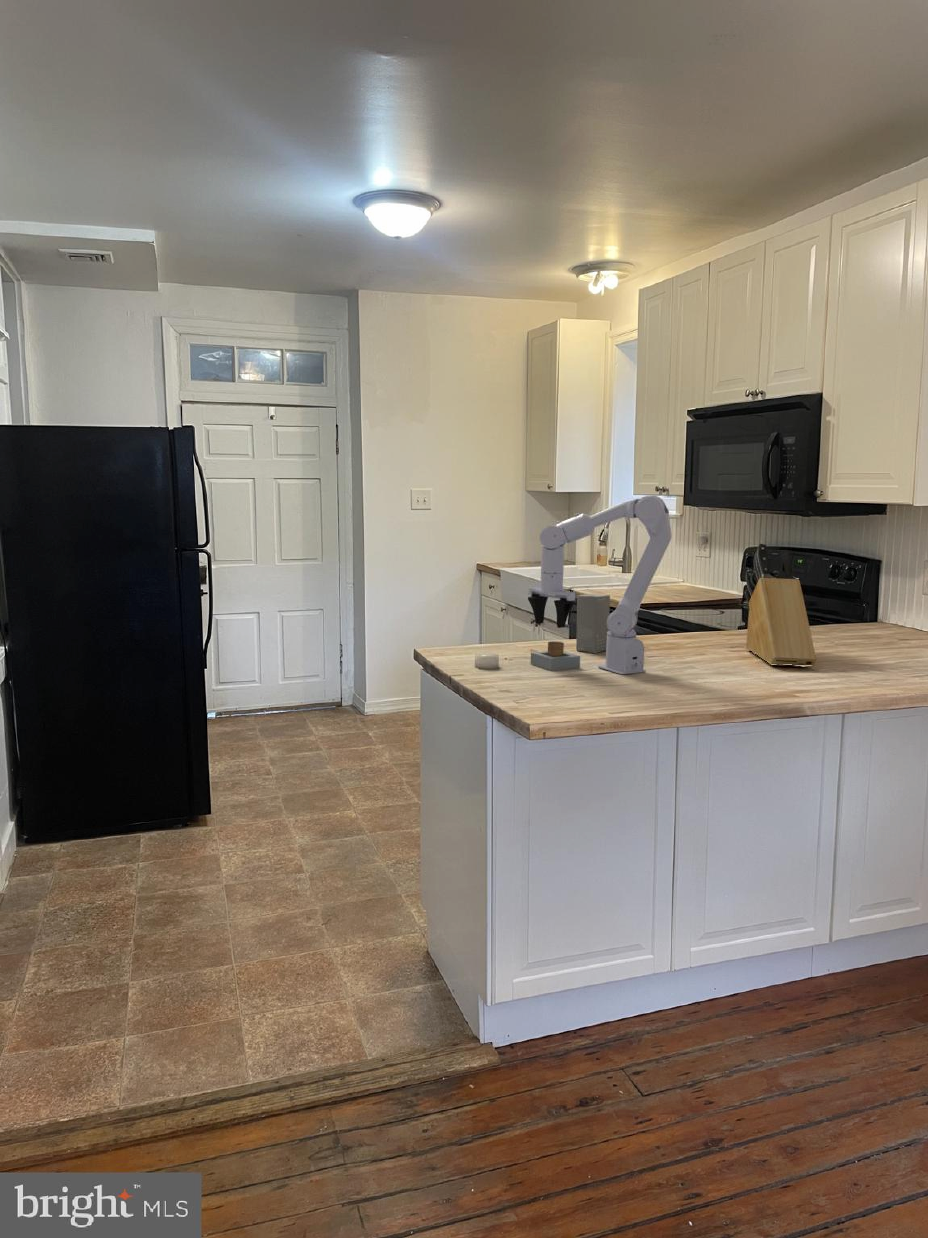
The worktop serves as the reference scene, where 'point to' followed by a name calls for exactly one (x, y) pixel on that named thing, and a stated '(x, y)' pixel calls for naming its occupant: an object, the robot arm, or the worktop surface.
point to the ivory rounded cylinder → (486, 660)
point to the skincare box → (592, 622)
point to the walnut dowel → (555, 649)
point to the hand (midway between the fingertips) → (550, 625)
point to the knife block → (777, 614)
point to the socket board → (555, 661)
